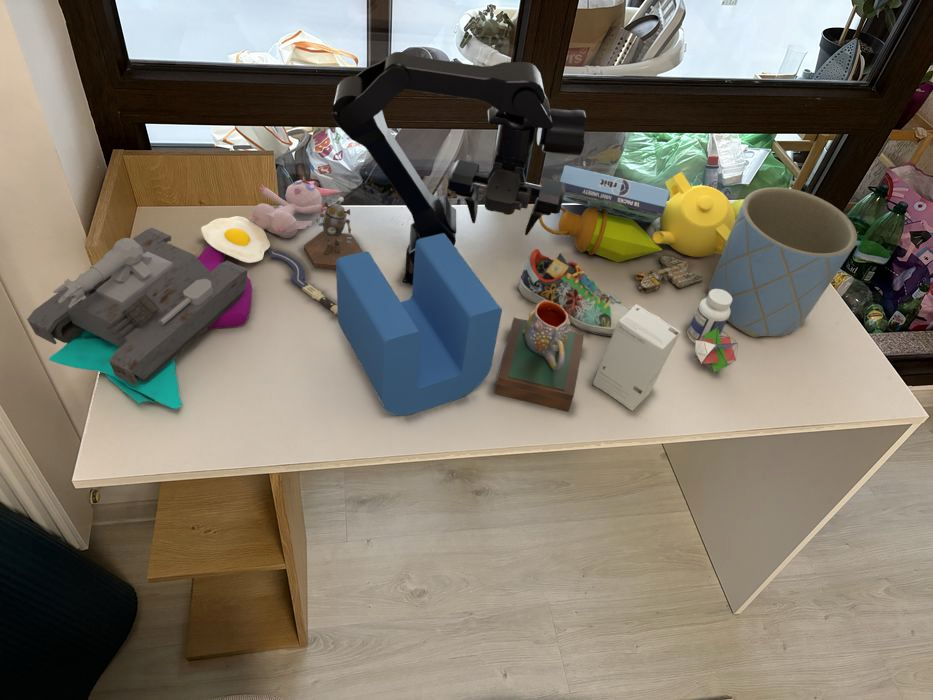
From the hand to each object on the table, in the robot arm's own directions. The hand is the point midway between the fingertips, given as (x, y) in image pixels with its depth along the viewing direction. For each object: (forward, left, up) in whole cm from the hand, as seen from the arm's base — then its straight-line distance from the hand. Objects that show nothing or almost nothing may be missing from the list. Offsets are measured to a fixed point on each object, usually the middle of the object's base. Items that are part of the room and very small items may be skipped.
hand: (500, 227), depth 127 cm
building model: (+32, +12, -12) cm, 36 cm away
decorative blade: (-30, -9, -12) cm, 34 cm away
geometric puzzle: (+42, -5, -8) cm, 43 cm away
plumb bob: (+18, +15, -12) cm, 27 cm away
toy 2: (-42, -4, -9) cm, 43 cm away
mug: (+12, -19, -8) cm, 24 cm away
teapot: (+35, +26, -10) cm, 45 cm away
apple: (+45, +31, -12) cm, 56 cm away
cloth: (-49, -38, -10) cm, 63 cm away
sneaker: (+16, -3, -12) cm, 20 cm away
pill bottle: (+39, -2, -12) cm, 41 cm away
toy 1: (-50, -30, -10) cm, 59 cm away
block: (-8, -25, -12) cm, 29 cm away
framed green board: (+12, -20, -12) cm, 26 cm away
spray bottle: (-45, -16, -12) cm, 49 cm away
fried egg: (-45, -7, -10) cm, 47 cm away
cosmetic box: (+26, -19, -12) cm, 34 cm away
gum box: (+19, +32, -10) cm, 38 cm away
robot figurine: (-30, -3, -12) cm, 32 cm away
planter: (+48, +9, -12) cm, 51 cm away
